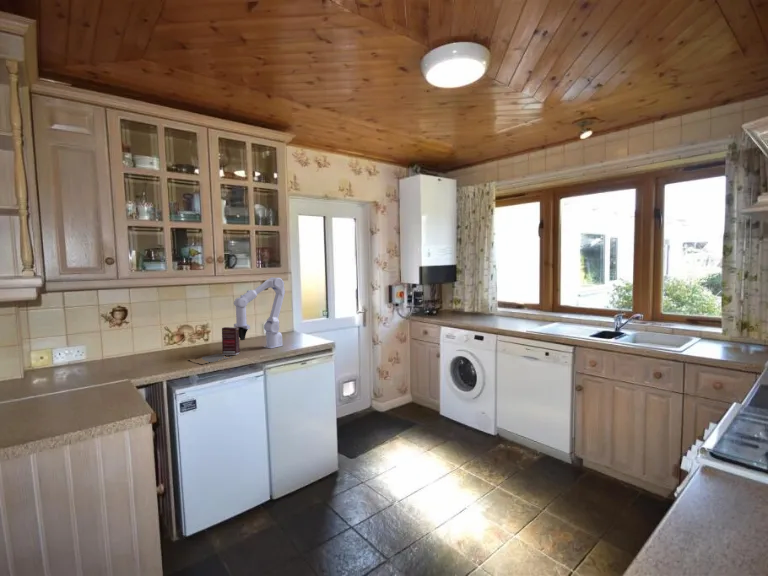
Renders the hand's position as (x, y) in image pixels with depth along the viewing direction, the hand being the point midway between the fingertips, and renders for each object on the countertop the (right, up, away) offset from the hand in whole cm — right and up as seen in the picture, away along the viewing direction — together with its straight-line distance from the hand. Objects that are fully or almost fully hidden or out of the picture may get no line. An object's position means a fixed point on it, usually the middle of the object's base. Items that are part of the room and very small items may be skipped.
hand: (242, 339), depth 231 cm
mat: (-12, -9, -15) cm, 21 cm away
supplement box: (-5, -8, -6) cm, 11 cm away
